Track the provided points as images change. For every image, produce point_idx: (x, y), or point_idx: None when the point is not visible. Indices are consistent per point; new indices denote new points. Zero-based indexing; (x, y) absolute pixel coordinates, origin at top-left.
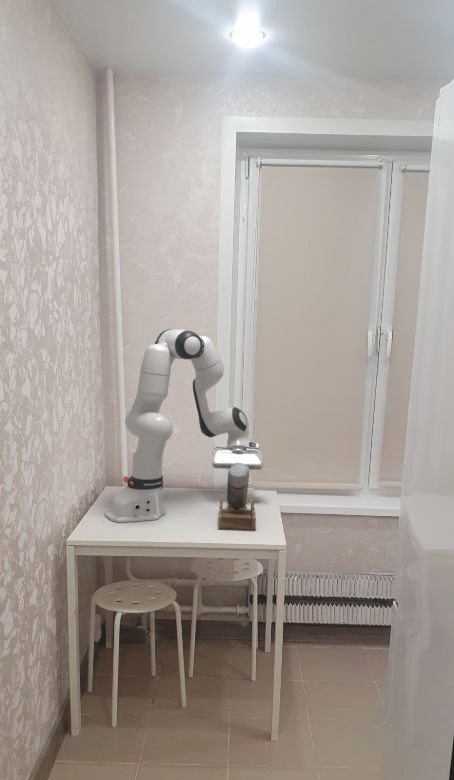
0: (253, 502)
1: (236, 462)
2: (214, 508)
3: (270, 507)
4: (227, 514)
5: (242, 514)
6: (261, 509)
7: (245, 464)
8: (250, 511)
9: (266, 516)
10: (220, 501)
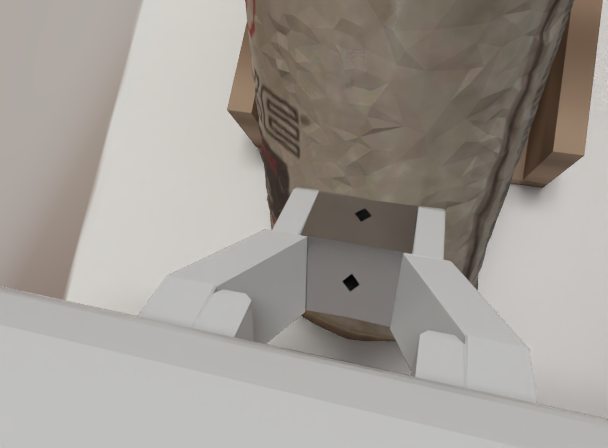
0: (248, 34)
1: (340, 424)
2: (591, 238)
3: (97, 237)
4: None
5: None
6: (180, 190)
7: (52, 301)
8: None
9: (190, 30)
10: (589, 61)
